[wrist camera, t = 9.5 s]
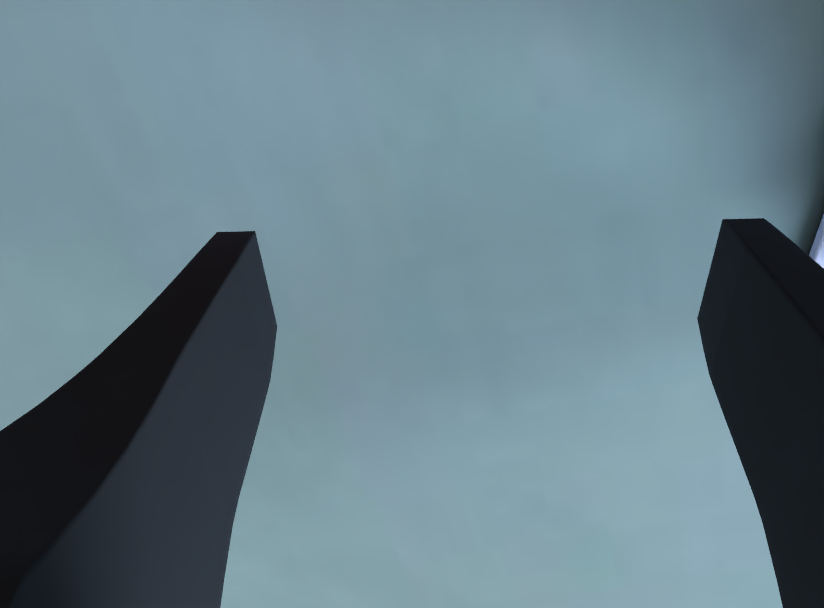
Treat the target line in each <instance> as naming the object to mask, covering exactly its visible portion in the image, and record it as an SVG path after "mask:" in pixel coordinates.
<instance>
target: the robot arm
mask: <svg viewBox="0 0 824 608" xmlns="http://www.w3.org/2000/svg"><path fill="white" fill-rule="evenodd" d="M698 324H699V329H700V334H701V339H702V344H703V349H704V353H705V358H706V362H707V366H708V371H709V375H710V378H711V381H712V384H713V386H714V389H715V392H716V395H717V398H718V400H719V403H720V406H721V409H722V411H723V414H724V417H725V419H726V422H727V425H728V428H729V430H730V433H731V436H732V438H733V441H734V444H735V446H736V449H737V452H738V454H739V457H740V460H741V462H742V465H743V468H744V470H745V473H746V476H747V478H748V481H749V484H750V486H751V489H752V492H753V494H754V497H755V501H756V504H757V507H758V510H759V513H760V516H761V519H762V522H763V526H764V530H765V534H766V538H767V542H768V546H769V550H770V554H771V558H772V562H773V566H774V570H775V574H776V578H777V583H778V587H779V592H780V596H781V601H782V605H783V608H824V215H823V217H822V220H821V223H820V226H819V229H818V231H817V234H816V237H815V240H814V243H813V245H812V248H811V251H810V254H809V256H808V255H807V254H806V253H805V252H804V251H803V250H801V249H800V248H799V247H798V246H797V245H796V244H795V243H793V242H792V241H791V240H790V239H789V238H788V237H786V236H785V235H784V234H783V233H782V232H780V231H779V230H778V229H777V228H776V227H774V226H773V225H772V224H771V223H769V222H768V221H767V220H765V219H764V218H761V219H723V220H722V224H721V228H720V232H719V236H718V240H717V244H716V248H715V252H714V256H713V260H712V264H711V268H710V272H709V275H708V279H707V283H706V287H705V291H704V295H703V299H702V303H701V307H700V311H699V315H698ZM276 331H277V324H276V319H275V315H274V311H273V307H272V302H271V298H270V294H269V289H268V285H267V281H266V276H265V272H264V268H263V263H262V259H261V255H260V251H259V246H258V242H257V238H256V233H255V231H245V232H217V233H216V234H215V235H214V236H213V237H212V238H211V239H210V240H209V241H208V243H207V244H206V245H205V246H204V247H203V248H202V249H201V250H200V251H199V252H198V253H197V254H196V256H195V257H194V258H193V259H192V260H191V261H190V262H189V263H188V265H187V266H186V267H185V268H184V269H183V270H182V271H181V272H180V273H179V274H178V276H177V277H176V278H175V279H174V280H173V281H172V282H171V283H170V284H169V286H168V287H167V288H166V289H165V290H164V291H163V292H162V293H161V294H160V295H159V296H158V297H157V298H156V299H155V300H154V302H153V303H152V304H151V305H150V306H149V307H148V308H147V309H146V310H145V311H144V312H143V313H142V314H141V315H140V316H139V317H138V318H137V319H136V320H135V321H134V322H133V323H132V324H131V325H130V326H129V327H128V328H127V329H126V330H125V331H124V332H123V333H122V334H121V335H120V336H119V337H118V338H117V339H115V340H114V341H113V342H112V343H111V344H110V345H109V346H108V347H107V348H106V349H105V350H104V351H103V352H102V353H101V354H100V355H99V356H98V357H96V358H95V359H94V360H93V361H92V362H91V363H90V364H89V365H87V366H86V367H85V368H84V369H83V370H81V371H80V372H79V373H78V374H77V375H76V376H74V377H73V378H72V379H71V380H69V381H68V382H67V383H66V384H64V385H63V386H62V387H61V388H59V389H58V390H57V391H56V392H54V393H53V394H52V395H50V396H49V397H48V398H47V399H45V400H44V401H43V402H41V403H40V404H39V405H37V406H36V407H35V408H33V409H32V410H30V411H29V412H27V413H26V414H24V415H23V416H22V417H20V418H19V419H17V420H16V421H14V422H13V423H11V424H10V425H9V426H7V427H6V428H4V429H3V430H1V431H0V608H220V605H221V598H222V591H223V583H224V577H225V570H226V564H227V558H228V551H229V545H230V539H231V532H232V526H233V521H234V517H235V512H236V508H237V503H238V499H239V495H240V491H241V487H242V484H243V480H244V476H245V473H246V469H247V465H248V462H249V458H250V454H251V451H252V447H253V443H254V440H255V436H256V432H257V429H258V425H259V421H260V417H261V414H262V410H263V406H264V402H265V399H266V395H267V391H268V387H269V383H270V378H271V370H272V363H273V356H274V348H275V339H276Z"/></svg>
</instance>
